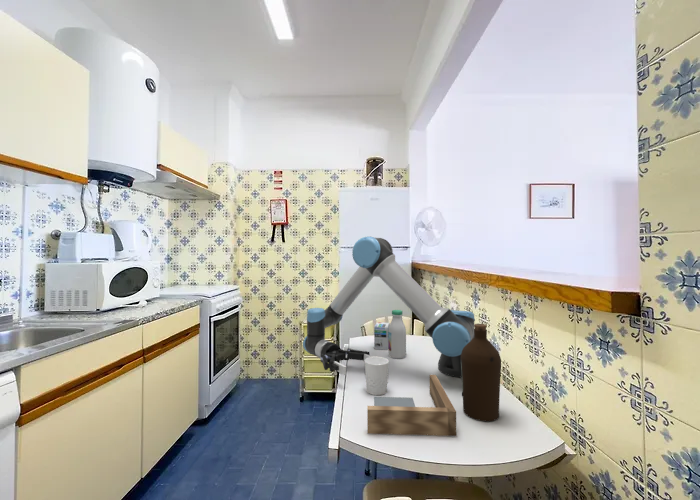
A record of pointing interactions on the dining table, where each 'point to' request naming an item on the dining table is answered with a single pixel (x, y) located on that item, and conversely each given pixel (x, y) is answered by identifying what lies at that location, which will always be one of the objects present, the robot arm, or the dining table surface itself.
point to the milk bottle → (397, 336)
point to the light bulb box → (381, 335)
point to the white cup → (376, 375)
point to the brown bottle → (481, 377)
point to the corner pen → (415, 416)
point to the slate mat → (394, 401)
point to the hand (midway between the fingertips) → (361, 366)
